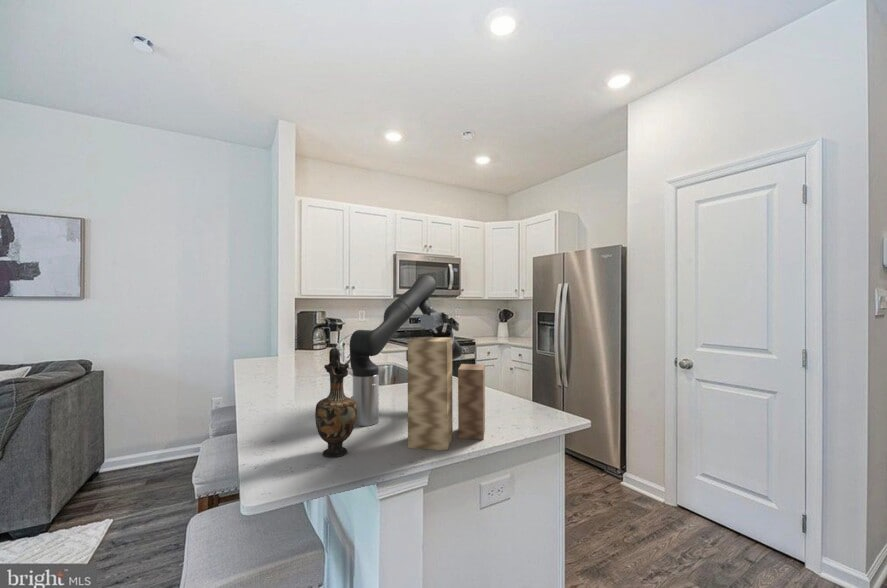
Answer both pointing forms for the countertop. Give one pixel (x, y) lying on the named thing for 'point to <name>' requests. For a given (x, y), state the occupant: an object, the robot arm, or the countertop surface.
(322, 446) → the countertop surface
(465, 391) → the walnut block
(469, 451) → the countertop surface
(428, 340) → the oak block
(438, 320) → the tin
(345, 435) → the vase
